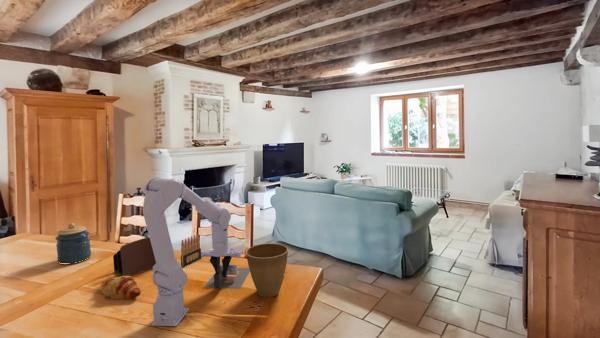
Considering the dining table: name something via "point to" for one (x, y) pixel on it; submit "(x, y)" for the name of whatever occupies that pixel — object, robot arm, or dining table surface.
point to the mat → (237, 284)
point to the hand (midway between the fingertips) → (222, 275)
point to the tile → (231, 278)
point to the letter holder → (134, 258)
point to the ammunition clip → (190, 251)
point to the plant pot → (267, 267)
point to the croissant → (120, 288)
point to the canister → (73, 244)
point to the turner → (219, 276)
